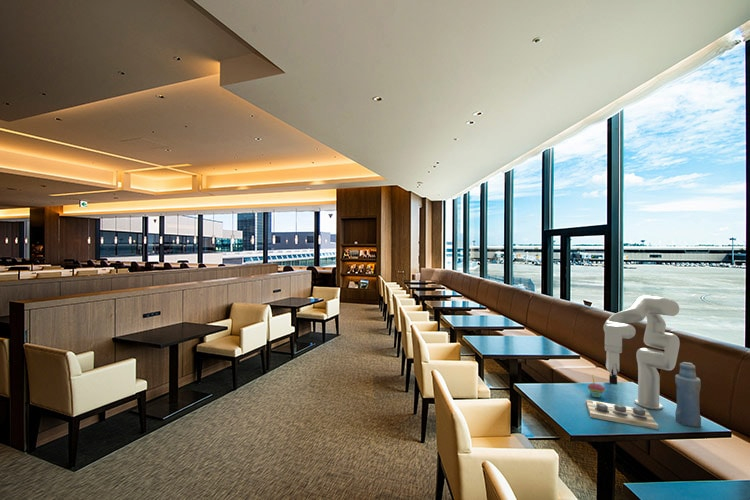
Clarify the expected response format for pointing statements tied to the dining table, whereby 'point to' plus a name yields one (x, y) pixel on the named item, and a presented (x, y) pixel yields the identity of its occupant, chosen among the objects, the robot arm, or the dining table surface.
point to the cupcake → (596, 389)
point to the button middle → (620, 408)
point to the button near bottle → (639, 411)
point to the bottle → (688, 396)
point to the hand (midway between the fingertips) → (613, 383)
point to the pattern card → (611, 405)
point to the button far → (602, 407)
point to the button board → (622, 416)
